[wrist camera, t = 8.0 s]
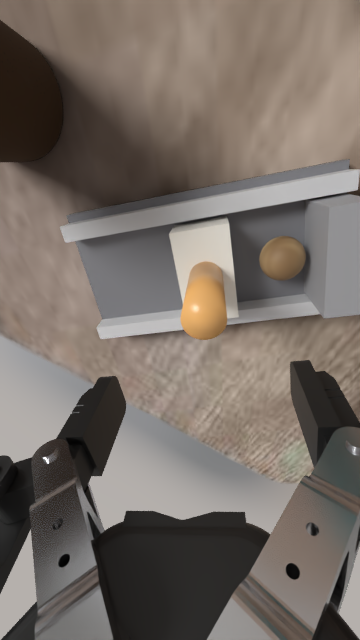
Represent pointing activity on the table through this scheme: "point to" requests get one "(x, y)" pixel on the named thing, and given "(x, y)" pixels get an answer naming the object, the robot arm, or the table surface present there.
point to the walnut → (282, 258)
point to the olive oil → (26, 100)
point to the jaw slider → (205, 276)
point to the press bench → (246, 241)
